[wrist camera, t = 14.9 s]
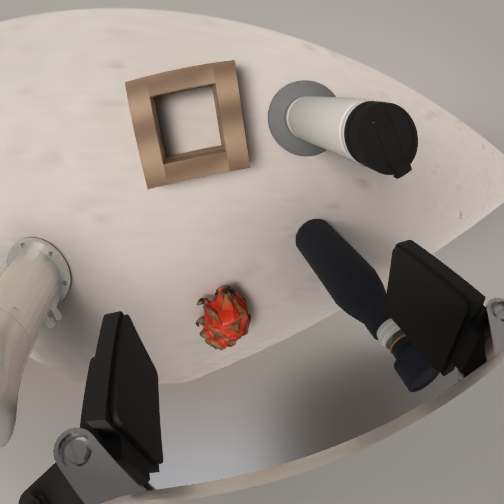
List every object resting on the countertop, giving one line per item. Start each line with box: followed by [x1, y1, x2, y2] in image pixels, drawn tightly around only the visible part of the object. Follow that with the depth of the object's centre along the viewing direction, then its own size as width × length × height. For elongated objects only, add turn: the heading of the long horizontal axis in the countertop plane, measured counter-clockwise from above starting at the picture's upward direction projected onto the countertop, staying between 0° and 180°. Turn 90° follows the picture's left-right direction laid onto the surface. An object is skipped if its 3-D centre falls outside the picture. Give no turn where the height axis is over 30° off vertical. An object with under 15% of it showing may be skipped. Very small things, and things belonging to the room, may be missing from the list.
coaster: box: [268, 81, 335, 156], centre depth 38 cm, size 11×11×1 cm
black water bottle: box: [296, 219, 440, 392], centre depth 35 cm, size 6×6×30 cm
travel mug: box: [284, 96, 418, 179], centre depth 30 cm, size 6×7×20 cm
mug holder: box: [125, 60, 250, 189], centre depth 34 cm, size 13×13×5 cm
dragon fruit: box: [196, 286, 251, 350], centre depth 48 cm, size 8×8×12 cm
